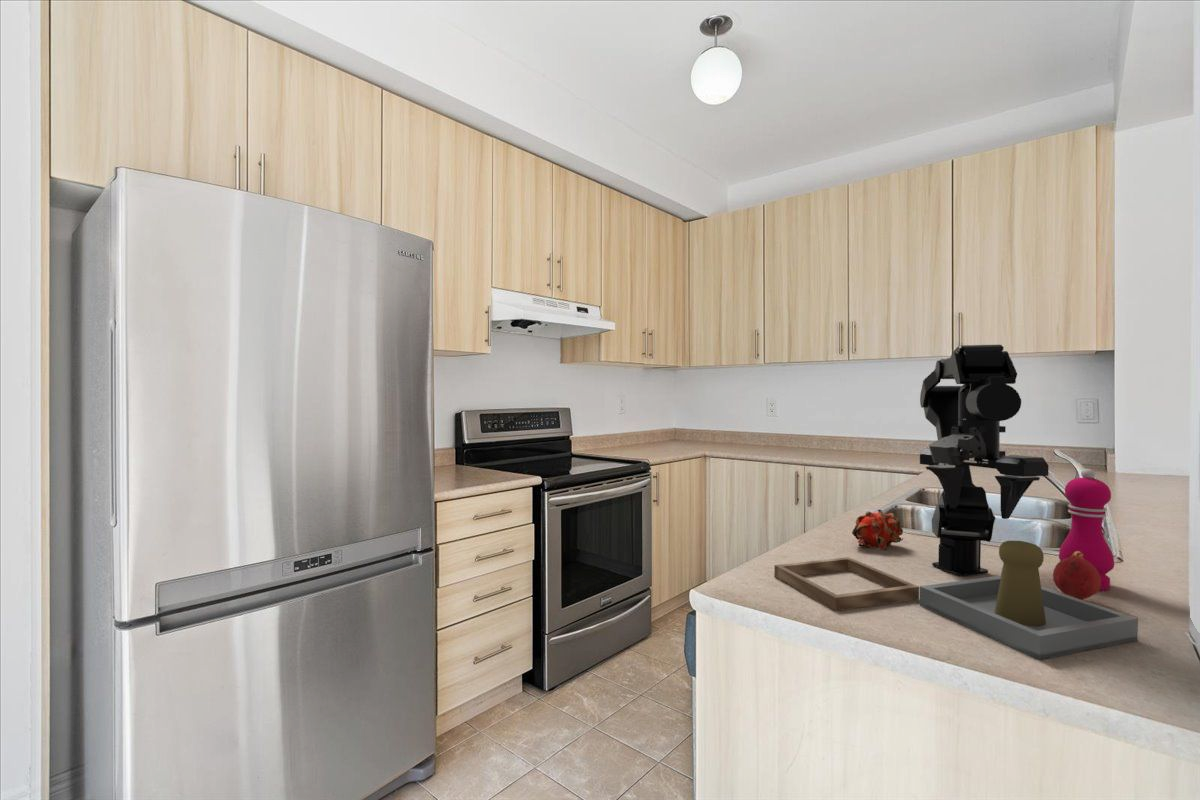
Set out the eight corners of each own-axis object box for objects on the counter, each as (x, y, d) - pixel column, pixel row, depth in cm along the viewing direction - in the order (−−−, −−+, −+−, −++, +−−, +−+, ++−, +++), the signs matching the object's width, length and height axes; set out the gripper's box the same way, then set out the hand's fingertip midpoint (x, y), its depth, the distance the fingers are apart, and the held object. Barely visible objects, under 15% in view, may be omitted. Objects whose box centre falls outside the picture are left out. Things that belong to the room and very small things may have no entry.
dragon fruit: (906, 553, 119) (858, 566, 116) (880, 522, 125) (834, 534, 122) (921, 528, 113) (871, 540, 111) (893, 497, 120) (845, 508, 117)
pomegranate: (1089, 611, 84) (1090, 559, 84) (1045, 598, 90) (1046, 549, 89) (1107, 604, 87) (1108, 553, 87) (1063, 592, 92) (1064, 544, 92)
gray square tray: (1005, 592, 92) (1006, 574, 92) (1137, 640, 75) (1137, 618, 75) (919, 605, 87) (919, 586, 87) (1039, 659, 70) (1040, 636, 70)
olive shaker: (1056, 627, 77) (1057, 549, 77) (1007, 624, 78) (1009, 547, 78) (1031, 610, 83) (1032, 537, 83) (986, 607, 84) (987, 535, 84)
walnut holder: (848, 567, 105) (848, 557, 105) (919, 599, 89) (919, 586, 89) (774, 576, 100) (774, 565, 100) (835, 610, 85) (835, 597, 85)
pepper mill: (1118, 594, 91) (1121, 473, 90) (1062, 586, 95) (1064, 469, 94) (1108, 581, 97) (1110, 467, 97) (1055, 574, 101) (1057, 464, 100)
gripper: (895, 418, 100) (894, 505, 99) (996, 421, 82) (995, 527, 82) (944, 418, 103) (943, 502, 103) (1051, 421, 85) (1050, 523, 85)
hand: (978, 513), depth 93 cm, fingers open, 9 cm apart
